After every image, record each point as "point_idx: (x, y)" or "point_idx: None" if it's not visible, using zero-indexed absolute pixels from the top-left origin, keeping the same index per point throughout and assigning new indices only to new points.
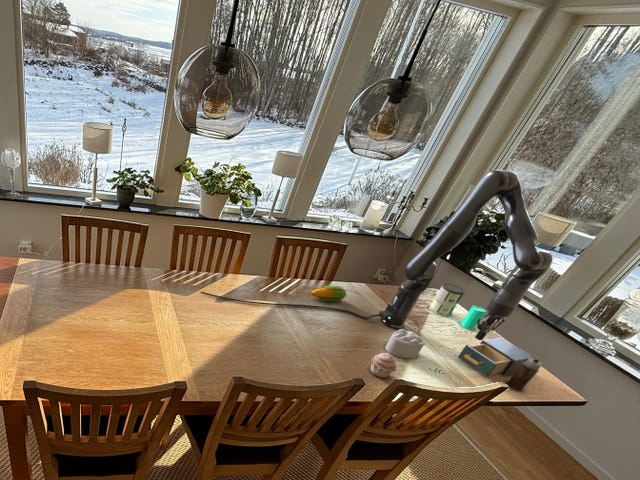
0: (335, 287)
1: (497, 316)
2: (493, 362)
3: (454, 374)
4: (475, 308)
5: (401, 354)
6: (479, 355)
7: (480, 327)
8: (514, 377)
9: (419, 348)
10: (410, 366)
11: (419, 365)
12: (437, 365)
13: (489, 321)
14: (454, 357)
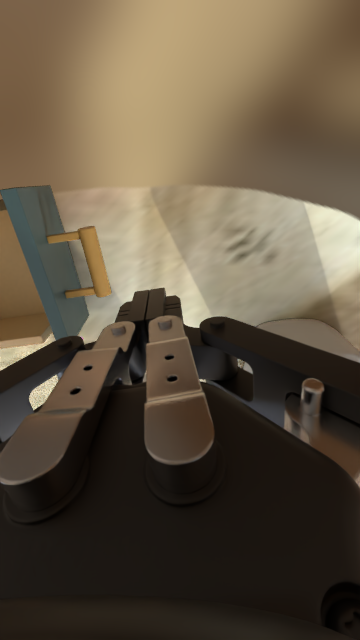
0: None
1: (140, 551)
2: (16, 206)
3: (185, 221)
4: None
5: (334, 330)
6: (50, 275)
7: (232, 370)
8: None
9: None
10: (337, 276)
11: (293, 280)
12: (214, 277)
13: (270, 423)
14: (94, 317)
